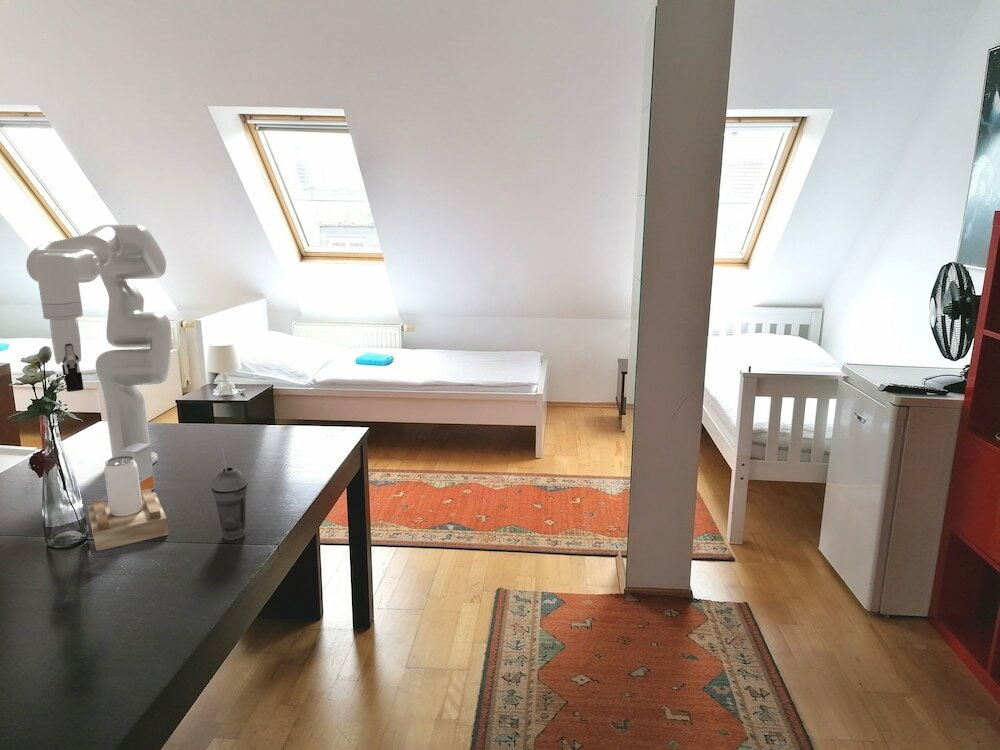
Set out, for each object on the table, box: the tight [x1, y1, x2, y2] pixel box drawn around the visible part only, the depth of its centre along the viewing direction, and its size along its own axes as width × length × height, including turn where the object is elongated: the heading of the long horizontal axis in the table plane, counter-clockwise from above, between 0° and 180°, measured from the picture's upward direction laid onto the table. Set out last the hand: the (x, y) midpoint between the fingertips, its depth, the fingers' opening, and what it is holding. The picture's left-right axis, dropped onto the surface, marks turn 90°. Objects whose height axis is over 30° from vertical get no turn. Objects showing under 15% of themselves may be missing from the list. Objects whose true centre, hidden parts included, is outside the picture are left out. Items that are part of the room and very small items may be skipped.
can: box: [103, 456, 142, 517], centre depth 161 cm, size 6×6×12 cm
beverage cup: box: [211, 447, 248, 541], centre depth 157 cm, size 7×7×20 cm
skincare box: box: [120, 443, 156, 491], centre depth 180 cm, size 6×4×12 cm
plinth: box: [87, 489, 169, 552], centre depth 162 cm, size 16×14×6 cm
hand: (73, 385), depth 164 cm, fingers open, 9 cm apart
